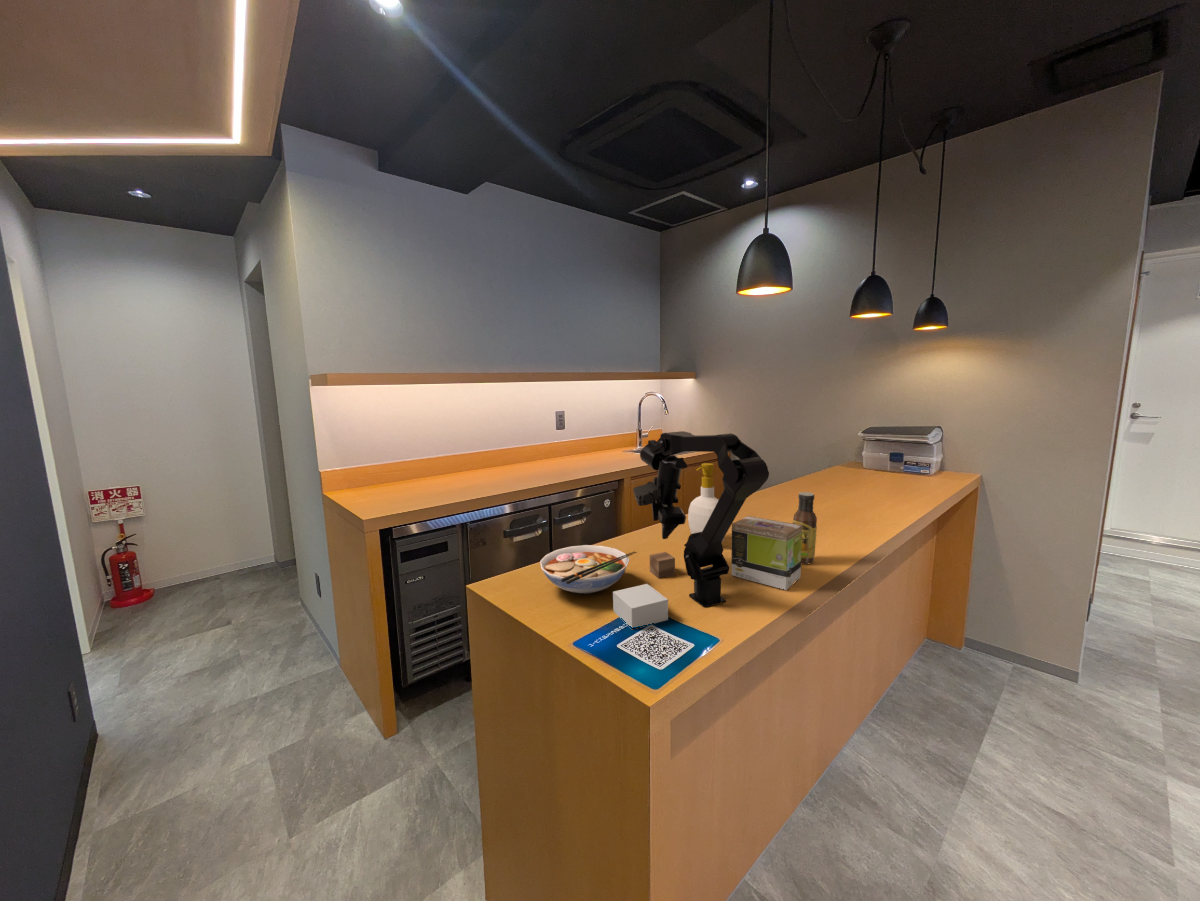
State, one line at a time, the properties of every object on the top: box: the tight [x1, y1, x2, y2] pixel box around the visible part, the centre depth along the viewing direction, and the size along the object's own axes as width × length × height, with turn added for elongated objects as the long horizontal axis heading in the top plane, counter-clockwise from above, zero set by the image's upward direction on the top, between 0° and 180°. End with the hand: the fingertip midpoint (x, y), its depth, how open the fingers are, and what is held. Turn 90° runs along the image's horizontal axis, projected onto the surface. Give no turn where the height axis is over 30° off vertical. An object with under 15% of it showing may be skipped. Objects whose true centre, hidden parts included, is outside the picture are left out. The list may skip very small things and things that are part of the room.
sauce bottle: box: [792, 491, 818, 565], centre depth 132 cm, size 6×6×20 cm
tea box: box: [731, 515, 802, 591], centre depth 122 cm, size 15×10×15 cm
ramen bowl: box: [539, 544, 638, 595], centre depth 120 cm, size 25×23×8 cm
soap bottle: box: [687, 462, 725, 543], centre depth 148 cm, size 14×9×26 cm, turn 36°
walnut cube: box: [649, 551, 676, 580], centre depth 127 cm, size 5×5×5 cm
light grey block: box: [612, 583, 669, 628], centre depth 105 cm, size 9×9×5 cm
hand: (659, 529), depth 128 cm, fingers open, 9 cm apart
